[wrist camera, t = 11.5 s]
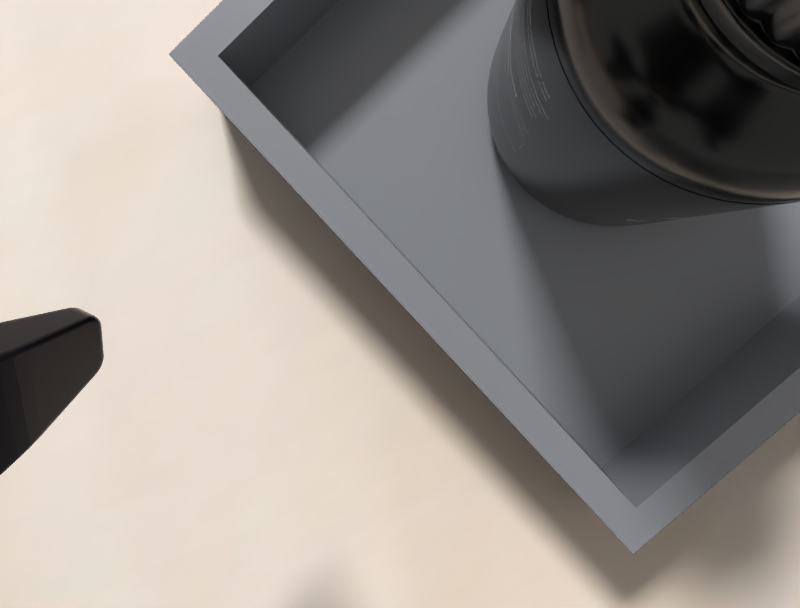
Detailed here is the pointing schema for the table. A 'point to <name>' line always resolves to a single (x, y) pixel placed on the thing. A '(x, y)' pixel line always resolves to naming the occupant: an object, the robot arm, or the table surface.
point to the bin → (518, 250)
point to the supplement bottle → (649, 106)
